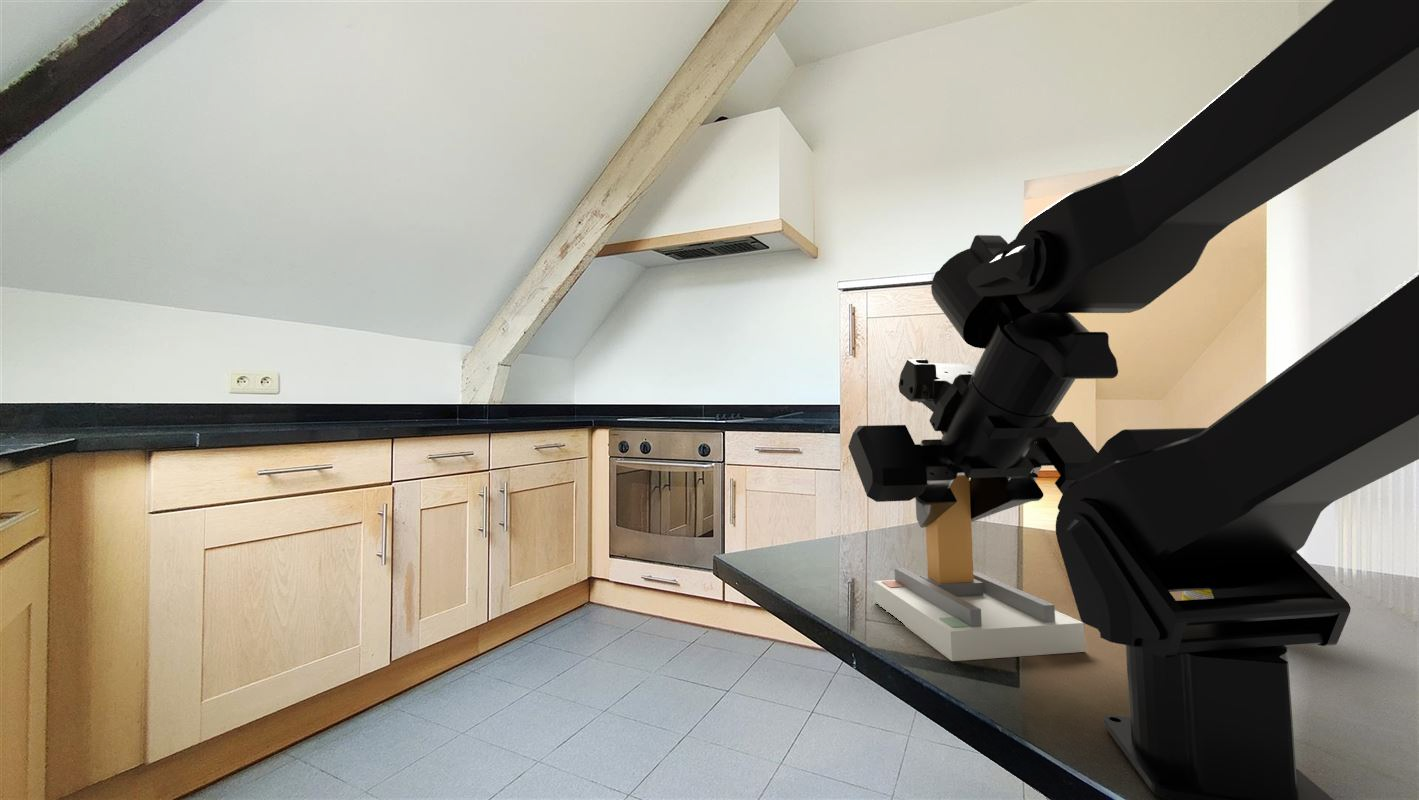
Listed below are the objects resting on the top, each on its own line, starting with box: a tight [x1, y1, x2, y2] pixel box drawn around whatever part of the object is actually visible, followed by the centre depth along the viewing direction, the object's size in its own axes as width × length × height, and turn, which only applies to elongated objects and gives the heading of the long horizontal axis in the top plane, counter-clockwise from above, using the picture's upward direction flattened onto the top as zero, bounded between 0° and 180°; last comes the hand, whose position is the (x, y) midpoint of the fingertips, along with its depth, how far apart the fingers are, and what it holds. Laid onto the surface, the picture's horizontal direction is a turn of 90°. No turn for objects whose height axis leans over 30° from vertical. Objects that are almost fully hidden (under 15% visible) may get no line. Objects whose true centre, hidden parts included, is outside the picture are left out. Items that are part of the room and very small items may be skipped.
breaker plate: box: [873, 567, 1086, 662], centre depth 45 cm, size 13×10×3 cm
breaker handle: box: [919, 475, 983, 596], centre depth 48 cm, size 3×4×12 cm
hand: (938, 522), depth 50 cm, fingers closed on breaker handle, 3 cm apart
